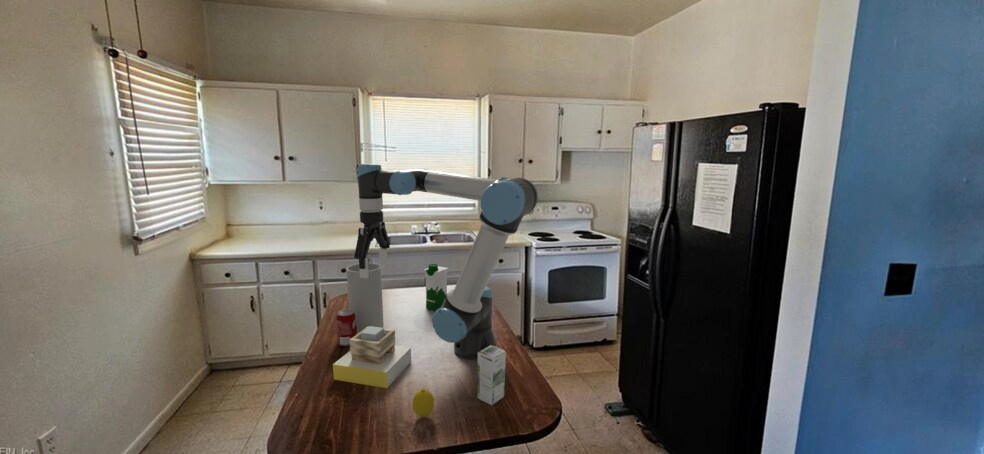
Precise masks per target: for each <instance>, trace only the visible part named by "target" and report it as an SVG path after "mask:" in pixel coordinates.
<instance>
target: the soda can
mask: <svg viewBox="0 0 984 454" xmlns="http://www.w3.org/2000/svg"><path fill="white" fill-rule="evenodd" d="M335 321H336V322H335V323H336V334H337V336H336V337H337V344H338V346H342V347H350V339H351V338H353V337H354V336H355V335H357V323H356V315H355V313H354V310H351V309H349V308H348V309H347V308H345V309H341V310H340V311H338V312H337V315H336V317H335Z"/></svg>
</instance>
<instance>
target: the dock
mask: <svg viewBox="0 0 984 454" xmlns="http://www.w3.org/2000/svg"><path fill="white" fill-rule="evenodd" d="M411 363H412V347H411V346H410V347H409V346H402V345H395V351H394V352H393V353H392V354H391V353H384V362H383V363H382V364H375V363H369V362H362V361H355V360H352V354H351V353H350V350H349V351H348V352H347V353H345V354H344V355H342V357H340V358H339V359H338V360H337V361H335V362H334V363H332V369H333V371H332V372H333V380H335V381H341V382H346V383H353V384H358V385H365V386H372V387H378V388H383V389H388V388H389V387H390V385H392V383H394V381H395V380H396V379H397V378H398V377H399V376H400V375H401V374H402V372H403V371H404V370H405V369H406V368H407V367H408V366H409V365H410V364H411Z"/></svg>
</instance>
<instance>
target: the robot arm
mask: <svg viewBox="0 0 984 454" xmlns="http://www.w3.org/2000/svg"><path fill="white" fill-rule="evenodd" d="M356 179H357V186H358V198H359V199H358V203H359V210H360V212H359V220H360V221H359V222H360V223H361V224H362V225H363V227H358V230H357V232H358V235H357V241H356V246H355V252H354V257H353V258H354V259H356V260H357V259H358V264H359V270H360V278H369V275H368V263H369V260H368V259H369V258H368V257H367V256H368V253H369V250H370V247H371V243H372V242H373V241H374V239H375V241H376V242H377V245H378V246H379V247H380V248H378V254H379V255H378V259H379V263H378V264H379V265H380V267H381V268H387V267H389V265H388V249H390V247H391V246H390V245H391V242H390V239H389V236H388V232H387V229H386V223H385V221H384V211H383V209H384V204H383V202H384V201H383V194H390V195H397V196H407V195H411V194H412V193H414V192H422V193H428V194H429V193H430V194H436V195H442V196H448V197H455V198H458V199H459V198H461V199H464V200H465V199H467V200H471V201H480V208H481V211H480V214H479V221H480V224H481V225H480V227H479V230H478V233H477V234H476V237H475V240H474V242H473V244H472V247H471V249H470V251H469V253H468V255H467V259H466V261H465V262H464V263H465V264H464V265H463V268H462V270H461V273H460V275H459V278H458V280H457V282H456V284H455V286H454V288H453V289H451V290H449V291H447V296H446V298H445V300H444V303H443V305H442V307H441V308H439V309H438V310H436V311H435V312H434V313H433V315H432V318H431V324H432V328H433V329H434V332H435V334H436V335H437V336H438V337H439V338H440V339H442V340H443V341H444V342H446V343H451V344H453V351H454V352H455V354H456V355H457V356H459V357H461V358H463V359H469V360H478V352H479V351H481V350H483V349H485V348H487V347H488V346H490V345H492V346H495V347H498V344H497V339H496V336H495V334H494V330H493V298H494V297H493V291H492V288H490V286H488V283H489V281H490V279H491V276H492V275H493V272H494V269H495V267H496V265H497V263H498V261H499V259H500V256H501V254H502V252H503V250H504V247H505V246H506V243H507V241H508V238H509V236H511V235H514V234H516V233H517V231H518V229H519V227H520V225H521V222H522V221H523V218H524V217H525V216H527V215H528V214H530V213H531V212H533V211H534V209H535V208H536V206H537V204H538V201H539V199H538V198H539V195H538V194H539V193H538V190H537V188H536V186H535V185H534V184H533V183H532V182H531V181H530V180H528V179H526V178H523V177H500V178H498V179H493V178H486V177H479V176H472V175H464V174H457V173H450V172H443V171H434V170H430V169H427V168H422V167H421V168H419V167H418V168H413V169H401V170H400V169H399V170H383V169H382V165H381V164H380V163H360V164H358V166H357V177H356Z"/></svg>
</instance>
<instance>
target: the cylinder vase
mask: <svg viewBox="0 0 984 454" xmlns="http://www.w3.org/2000/svg"><path fill="white" fill-rule="evenodd" d="M368 275H369V278H360V270H359V263H355V264H351V265H349V266H347V267H346V281H347V284H346V285H347V295H348V296H347V297H348V298H347V299H348V309H351V310H354V313H355V315H356V323H357V334H358V333H359V332H361V331H362V330H363V329H365V328H366V327H369V326H373V327H381V328H384V326H385V325H384V308H383V307H384V306H383V305H384V304H383V287H382V285H383V284H382V267H380V263H375V262H368Z"/></svg>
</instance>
